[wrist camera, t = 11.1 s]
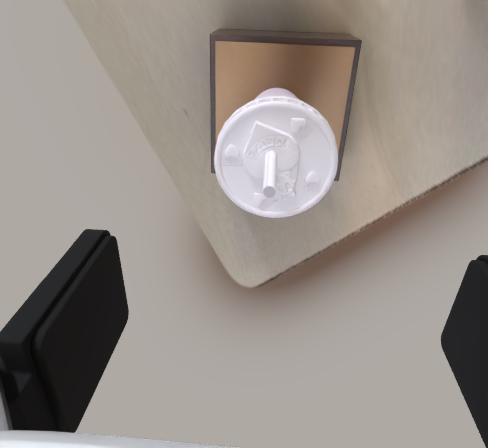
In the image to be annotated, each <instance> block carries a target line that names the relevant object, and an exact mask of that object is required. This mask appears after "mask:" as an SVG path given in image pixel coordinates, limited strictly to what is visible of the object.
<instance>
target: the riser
mask: <svg viewBox="0 0 488 448" xmlns="http://www.w3.org/2000/svg"><path fill="white" fill-rule="evenodd" d="M361 42H362V41H361V40H360V39H358V38H356V37H354V36H352V35H351V34H334V33H311V32H287V31H263V30H240V29H218V30H216V31H215V32H213V33H211V34H210V85H211V173H216V172H215V166H214V154H215V148H216V144H217V139H218V135H219V133H220V131H221V130H222V128H223V126H224V124H225V122H226V121H227V120H228V119H229V118H230V117H231V115H232V114H233V113H234V112H235V111H236V110H237V109H239V108H241V107H242V106H244V105H246V104H247V103H249V102H250V101H253V100H255V99H256V97H257V96H258V95H259V94H261V93H262V92H264V91H265V90H268V89H271V88H283V89H286V90H288V91H290V92H292V93H293V94H294V95H295V96H296V97H297V98H298V99H299V100H301V101H303V102H305V103H307V104H308V105H310V106H312V107H313V108H315V109H316V110H317V111H318V112H319V113H320V114H321V115H322V116H323V117H324V118H325V119H326V120H327V121H328V123H329V125H330V127H331V129H332V131H333V133H334V135H335V140H336V145H337V150H338V167H337V172H336V176H335V178H334V181H338V180H339V175H340V169H341V163H342V157H343V151H344V145H345V139H346V133H347V126H348V120H349V114H350V108H351V102H352V96H353V90H354V84H355V78H356V72H357V66H358V60H359V54H360V48H361Z"/></svg>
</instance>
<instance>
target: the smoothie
mask: <svg viewBox="0 0 488 448" xmlns="http://www.w3.org/2000/svg"><path fill="white" fill-rule="evenodd" d="M214 166H215V172H216V176H217V179H218V181H219V184H220V186H221V187H222V189H223V191H224V192H225V194H226V195H227V196H228V197H229V198H230V199H231V200H232V201H233V202H234V203H235V204H236V205H238V206H239V207H241V208H242V209H244V210H246V211H248V212H250V213H252V214H255V215H258V216H263V217H270V218H281V217H288V216H292V215H296V214H299V213H301V212H303V211H305V210H307V209H309V208H311V207H312V206H314V205H315V204H316V203H317V202H318V201H320V200H321V199H322V198H323V196H324V195H325V194H326V193H327V191H328V190H329V188H330V187H331V185H332V183H333V181H334V178H335V176H336V172H337V167H338V150H337V145H336V140H335V135H334V133H333V131H332V129H331V127H330V125H329V123H328V121H327V120H326V119H325V118H324V117H323V116H322V115H321V114H320V113H319V112H318V111H317V110H316V109H315V108H313V107H312V106H310V105H308V104H307V103H305V102H303V101H301V100H299V99H298V98H297V97H296V96H295V95H294V94H293V93H292V92H290V91H288V90H286V89H283V88H271V89H268V90H265V91H264V92H262V93H261V94H259V95H258V96H257V97H256V99H255V100H253V101H250V102H249V103H247V104H246V105H244V106H242V107H241V108H239V109H237V110H236V111H235V112H234V113H233V114H232V115H231V117H230V118H229V119H228V120H227V121H226V122H225V124H224V126H223V128H222V130H221V131H220V133H219V135H218V139H217V144H216V148H215V154H214Z"/></svg>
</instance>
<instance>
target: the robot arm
mask: <svg viewBox="0 0 488 448" xmlns="http://www.w3.org/2000/svg"><path fill="white" fill-rule="evenodd" d="M127 320H128V304H127V299H126V292H125V286H124V280H123V274H122V268H121V262H120V257H119V251H118V245H117V240H116V238H115V237H114V236H111V235H110V233H109V231H107V230H92V229H86V230H84V231H83V232H82V234H81V235H80V236H79V237H78V239H77V240H76V241H75V242H74V243H73V245H72V246H71V247H70V248H69V250H68V251H67V252H66V253H65V254H64V256H63V257H62V258H61V259H60V261H59V262H58V263H57V264H56V265H55V267H54V268H53V269H52V270H51V271H50V273H49V274H48V275H47V276H46V278H45V279H44V280H43V281H42V282H41V283H40V284H39V285H38V287H37V288H36V289H35V291H34V292H33V293H32V294H31V295H30V296H29V298H28V299H27V300H26V301H25V303H24V304H23V305H22V306H21V307H20V309H19V310H18V311H17V312H16V313H15V315H14V316H13V317H12V318H11V319H10V321H9V322H8V323H7V324H6V326H5V327H4V328H3V329H2V330H1V332H0V448H242V447H231V446H221V445H210V444H199V443H188V442H177V441H166V440H155V439H145V438H134V437H123V436H110V435H96V434H83V433H75V431H76V430H77V428H78V426H79V424H80V422H81V420H82V417H83V415H84V413H85V411H86V409H87V407H88V404H89V402H90V400H91V398H92V396H93V394H94V392H95V390H96V387H97V385H98V383H99V381H100V379H101V377H102V375H103V372H104V370H105V368H106V366H107V364H108V362H109V359H110V357H111V355H112V353H113V351H114V349H115V347H116V345H117V343H118V340H119V338H120V336H121V333H122V332H123V330H124V327H125V325H126V323H127ZM441 345H442V349H443V351H444V353H445V356H446V358H447V360H448V362H449V365H450V367H451V369H452V371H453V373H454V376H455V378H456V380H457V383H458V385H459V387H460V390H461V392H462V394H463V396H464V399H465V401H466V403H467V405H468V408H469V410H470V412H471V414H472V417H473V419H474V421H475V423H476V426H477V428H478V430H479V433H480V435H481V437H482V439H483V442H484V443H485V446H486V448H488V255H481V256H479V257H478V258H477V259H476V260H472V261H471V262H470V263H469V265H468V267H467V270H466V273H465V275H464V278H463V280H462V283H461V286H460V288H459V291H458V293H457V296H456V299H455V301H454V304H453V306H452V309H451V311H450V314H449V317H448V319H447V322H446V324H445V327H444V330H443V332H442V335H441Z"/></svg>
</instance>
